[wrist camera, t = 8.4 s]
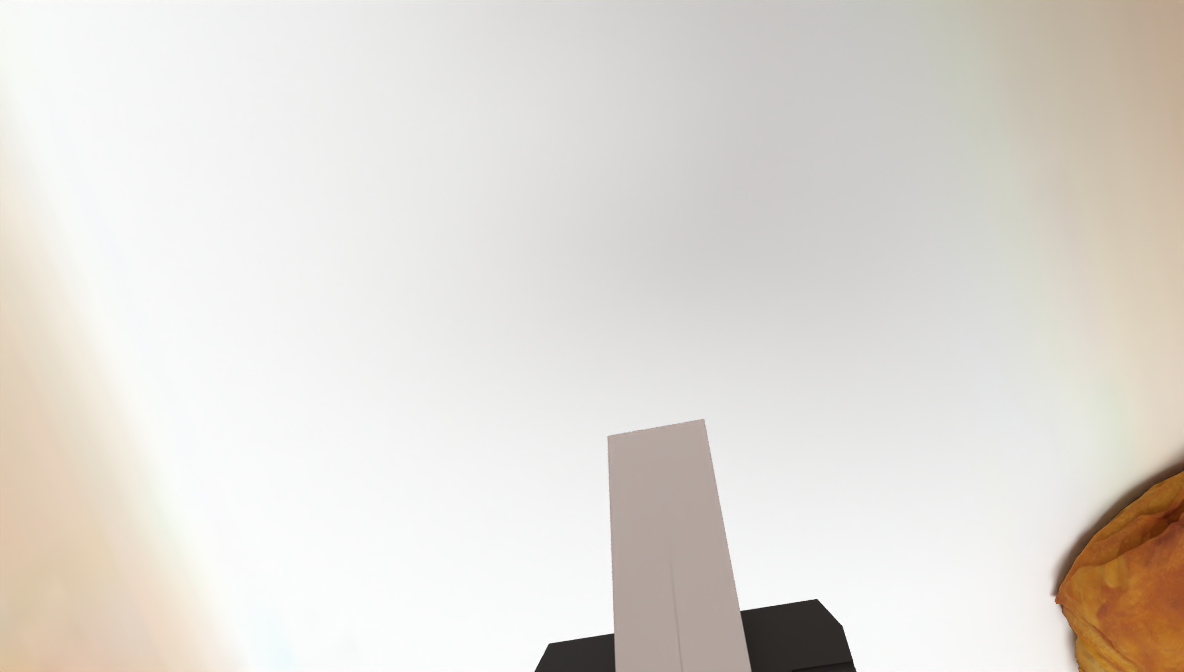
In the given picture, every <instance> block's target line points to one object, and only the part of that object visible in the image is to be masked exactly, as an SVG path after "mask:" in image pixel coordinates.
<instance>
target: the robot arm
mask: <svg viewBox="0 0 1184 672" xmlns="http://www.w3.org/2000/svg"><path fill="white" fill-rule="evenodd" d="M608 464H609V493H610V522H611V551H612V580H613V609H614V634H607V635H601V636H594V637H588V638H582V639H575V640H569V641H563V642H556V643H550V644H549V645H548V647H547V649H546V651H545V653H544V654H543V656H542V658H541V660H540V662H539V664H538V666H537V668H536V670H535V672H856V669H855V667H854V664H853V659H852V656H851V653H850V649H849V646H848V643H847V640H846V636H845V633H844V630H843V626H842V625H841V624H840V623H839V622H838V621H837V620H836V619H835V618H834V617H833V616H832V615H831V613H830V612H829V611H828V610H827V609H826V608H825V607H824V606H823V605H822V604H821V603H820V602H819V601H818V599H814V600H808V601H801V602H795V603H789V604H782V605H776V606H770V607H763V608H757V609H751V610H744V611H740V608H739V603H738V597H737V592H736V587H735V581H734V576H733V571H732V565H731V560H730V555H729V549H728V544H727V539H726V533H725V528H724V523H723V517H722V512H721V507H720V501H719V496H718V491H717V485H716V480H715V475H714V469H713V464H712V459H711V453H710V448H709V443H708V437H707V432H706V427H705V421H704V419H701V420H696V421H690V422H684V423H679V424H673V425H667V426H662V427H656V428H650V429H645V430H639V431H633V432H628V433H622V434H616V435H611V436H608Z"/></svg>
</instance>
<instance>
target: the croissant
mask: <svg viewBox="0 0 1184 672" xmlns="http://www.w3.org/2000/svg"><path fill="white" fill-rule="evenodd" d="M1055 602H1056V604H1061V605H1063V607H1062V613H1063V614H1064V615H1065V617H1066V618H1067V620H1068V623H1069V625H1070V627H1071V628H1072V629H1073V631H1074V632H1075V633H1076V635H1077V636H1078V637H1077V640H1076V648H1075V649H1076V658H1077V663H1078V664H1079V668H1078V669H1079V672H1184V471H1182V472H1181V473H1179V474H1177V475H1174V476H1172V477H1170V478H1168V479H1166V480H1164V481H1162V482H1160V483H1158V484H1155V485H1153V486H1152V487H1151V488H1150V489H1149V490H1147V491H1146V492H1145V493H1144V494H1143V495H1142V496H1141V497H1139V498H1138V499H1137V500H1135V501H1134V502H1132V503H1131V504H1129V505H1128V506H1126V507H1125V508H1124V509H1122V510H1121V511H1120V512H1119V513H1118V514H1117V515H1116V516H1115V517H1114V518H1113V519H1112V520H1111V521H1110V522H1109V523H1108V524H1107V525H1106V526H1104V527H1103V528H1102V529H1101V530H1100V531H1098V532H1097V533H1096V534H1095V535H1094V536H1093V537H1092V538H1091V540H1090V541H1089V542H1088V543H1087V545H1086V546H1085V548H1084V549H1083V550H1082V552H1081V553H1080V554H1079V555H1078V557H1077V558H1076V560H1075V561H1074V563H1073V565H1072V567H1071V569H1070V570H1069V572H1068V574H1067V576H1066V577H1065V579H1064V581H1063V582H1062V584H1061V585H1060V587H1059V591H1058V594H1057V597H1056V599H1055Z"/></svg>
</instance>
